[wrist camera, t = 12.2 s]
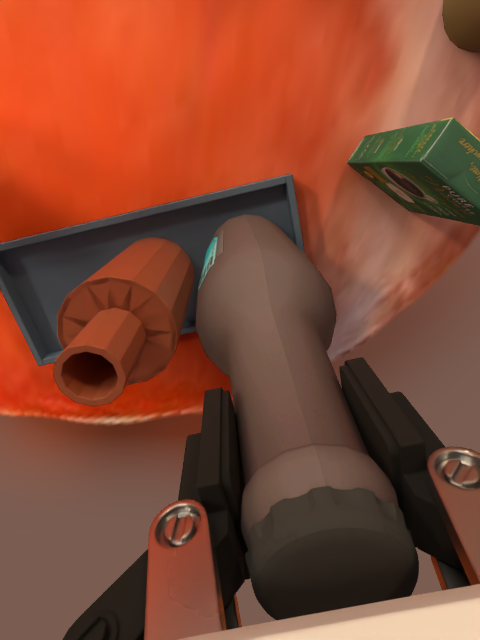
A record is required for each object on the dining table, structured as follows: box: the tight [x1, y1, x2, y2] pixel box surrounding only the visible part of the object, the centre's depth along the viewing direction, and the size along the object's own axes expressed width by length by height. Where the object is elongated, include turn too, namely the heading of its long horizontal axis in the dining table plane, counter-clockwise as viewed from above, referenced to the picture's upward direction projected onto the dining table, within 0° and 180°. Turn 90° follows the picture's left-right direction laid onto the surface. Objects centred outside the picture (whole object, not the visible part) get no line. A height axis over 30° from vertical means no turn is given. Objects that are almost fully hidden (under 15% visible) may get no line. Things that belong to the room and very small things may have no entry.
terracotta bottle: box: [53, 237, 195, 406], centre depth 27 cm, size 7×7×19 cm
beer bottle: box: [195, 214, 419, 620], centre depth 21 cm, size 8×8×30 cm
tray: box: [0, 174, 305, 366], centre depth 35 cm, size 28×12×2 cm, turn 103°
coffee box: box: [348, 117, 480, 226], centre depth 27 cm, size 8×3×13 cm, turn 57°
